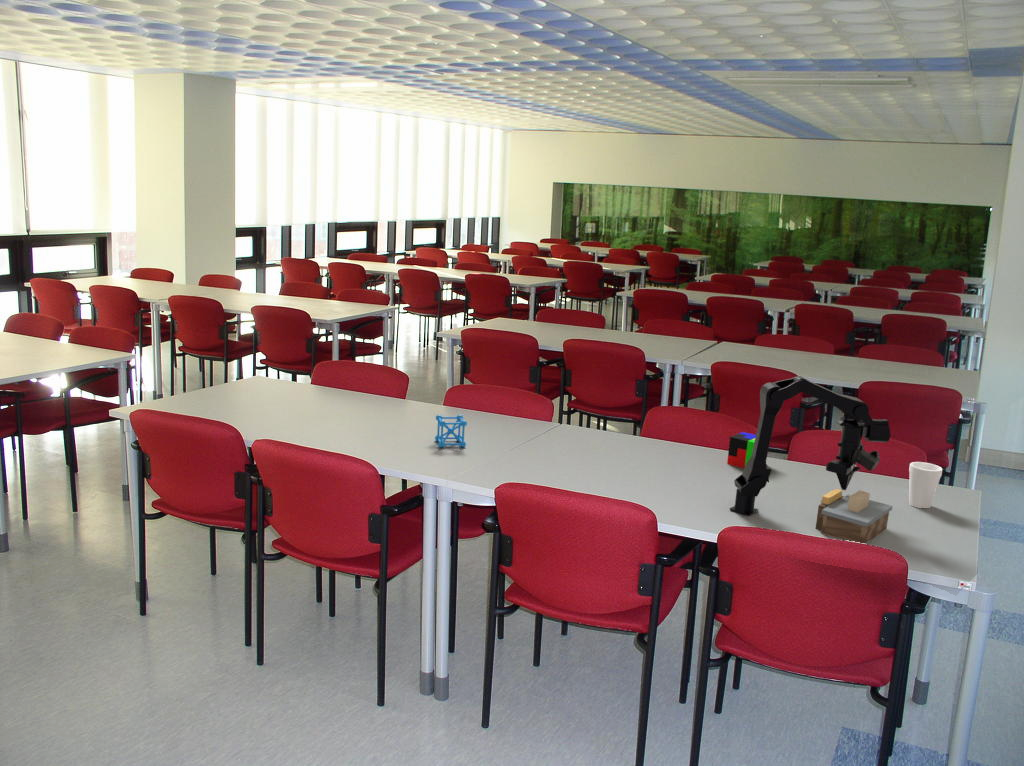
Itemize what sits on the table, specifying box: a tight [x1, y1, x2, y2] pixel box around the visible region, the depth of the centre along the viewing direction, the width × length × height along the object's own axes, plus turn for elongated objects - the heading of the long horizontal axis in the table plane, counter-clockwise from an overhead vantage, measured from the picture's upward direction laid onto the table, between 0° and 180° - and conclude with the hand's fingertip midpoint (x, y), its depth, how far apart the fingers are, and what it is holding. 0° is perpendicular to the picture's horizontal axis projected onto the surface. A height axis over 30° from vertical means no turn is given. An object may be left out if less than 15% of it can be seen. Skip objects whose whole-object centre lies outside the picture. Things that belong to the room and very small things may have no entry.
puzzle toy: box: [726, 431, 756, 469], centre depth 320 cm, size 10×10×10 cm
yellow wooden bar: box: [821, 488, 843, 504], centre depth 266 cm, size 10×2×2 cm, turn 139°
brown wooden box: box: [815, 495, 890, 544], centre depth 263 cm, size 19×15×7 cm
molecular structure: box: [434, 414, 468, 449], centre depth 324 cm, size 10×10×10 cm
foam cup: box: [908, 461, 943, 509], centre depth 287 cm, size 10×9×13 cm
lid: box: [820, 490, 893, 527], centre depth 262 cm, size 20×16×5 cm
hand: (843, 489), depth 272 cm, fingers closed
